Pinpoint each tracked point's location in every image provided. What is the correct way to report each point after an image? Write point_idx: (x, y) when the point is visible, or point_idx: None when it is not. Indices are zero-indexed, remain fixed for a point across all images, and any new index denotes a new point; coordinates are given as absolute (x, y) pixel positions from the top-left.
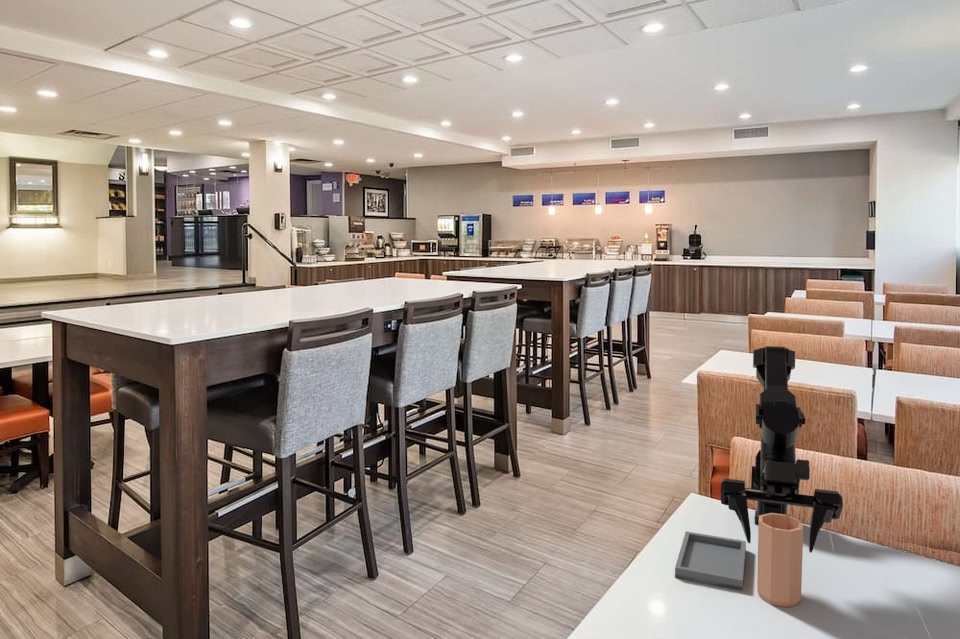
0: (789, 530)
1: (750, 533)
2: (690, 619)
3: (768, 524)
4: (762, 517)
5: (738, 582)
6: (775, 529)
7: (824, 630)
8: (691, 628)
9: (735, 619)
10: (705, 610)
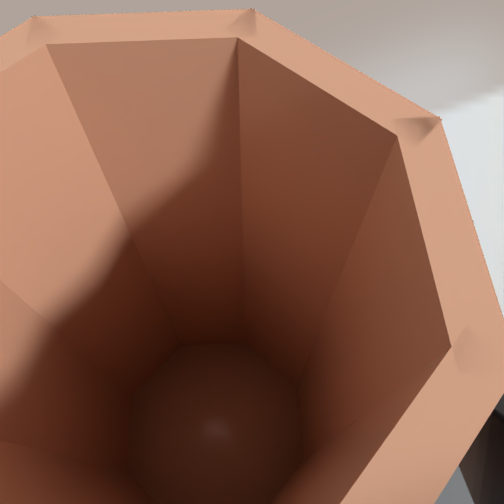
0: (44, 38)
1: None
2: (496, 147)
3: (317, 492)
4: (440, 363)
5: None
6: (215, 14)
7: None
8: (475, 109)
9: None
10: (472, 212)
